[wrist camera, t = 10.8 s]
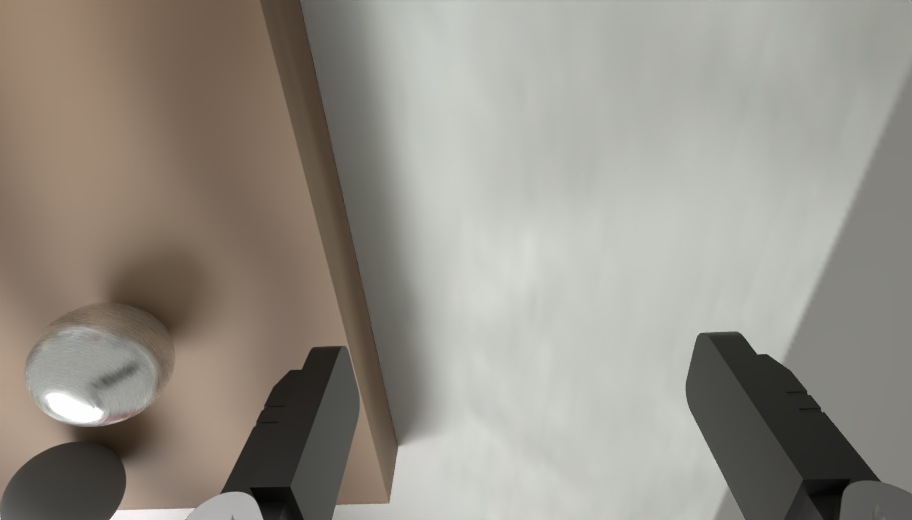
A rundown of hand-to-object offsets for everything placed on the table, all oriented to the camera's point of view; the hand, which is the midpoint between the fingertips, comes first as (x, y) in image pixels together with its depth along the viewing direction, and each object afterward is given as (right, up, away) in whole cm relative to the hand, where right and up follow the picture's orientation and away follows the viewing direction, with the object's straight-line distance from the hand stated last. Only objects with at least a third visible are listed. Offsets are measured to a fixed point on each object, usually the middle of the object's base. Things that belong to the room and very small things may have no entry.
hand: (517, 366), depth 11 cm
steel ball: (-11, 0, +1) cm, 11 cm away
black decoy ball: (-14, -5, +5) cm, 16 cm away
